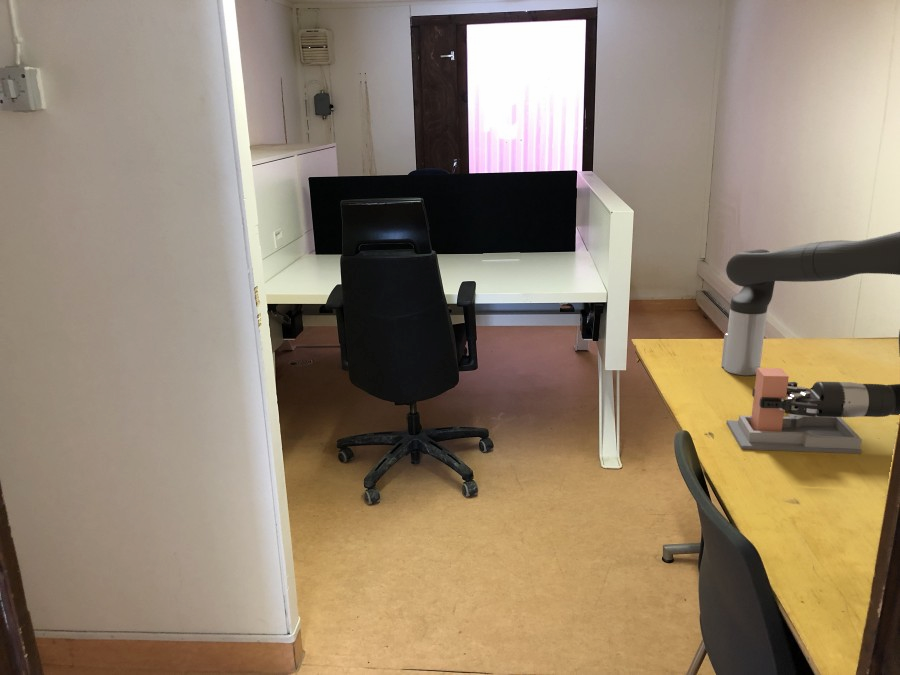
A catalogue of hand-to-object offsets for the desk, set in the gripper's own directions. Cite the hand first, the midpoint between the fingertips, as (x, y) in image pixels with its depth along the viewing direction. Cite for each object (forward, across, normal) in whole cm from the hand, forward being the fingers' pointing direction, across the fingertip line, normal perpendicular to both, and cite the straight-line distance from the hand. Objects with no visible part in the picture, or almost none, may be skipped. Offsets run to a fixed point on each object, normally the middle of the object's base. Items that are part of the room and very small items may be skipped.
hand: (756, 397), depth 158 cm
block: (-3, 0, +8) cm, 9 cm away
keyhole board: (-8, 0, +9) cm, 12 cm away
